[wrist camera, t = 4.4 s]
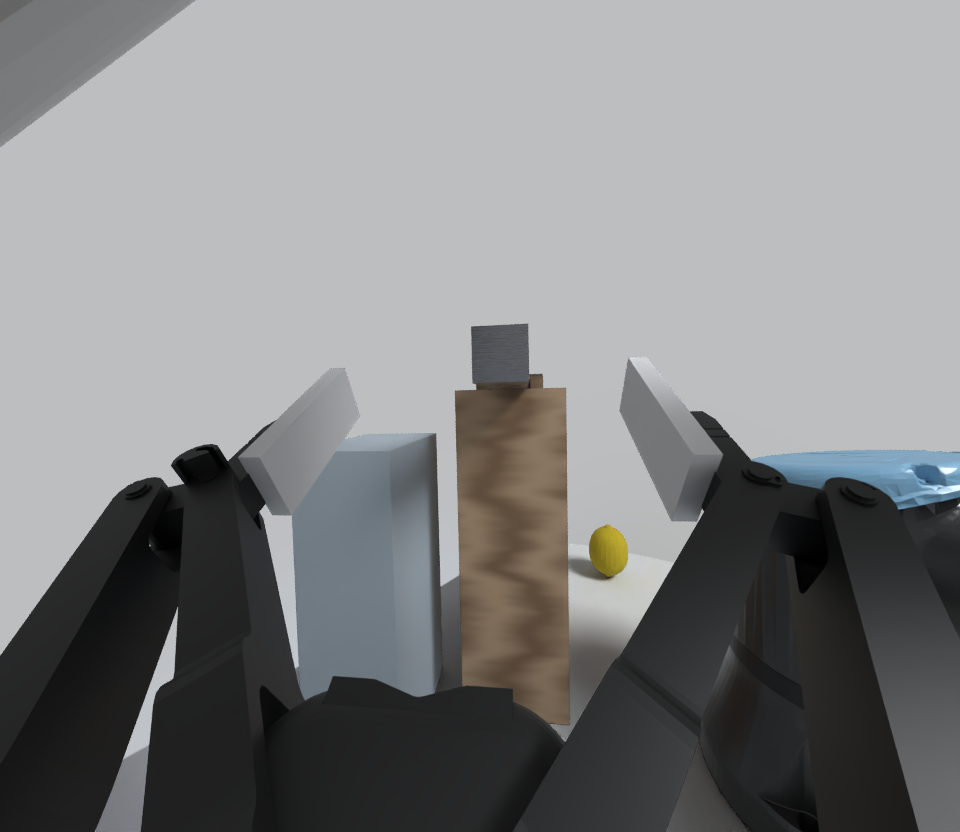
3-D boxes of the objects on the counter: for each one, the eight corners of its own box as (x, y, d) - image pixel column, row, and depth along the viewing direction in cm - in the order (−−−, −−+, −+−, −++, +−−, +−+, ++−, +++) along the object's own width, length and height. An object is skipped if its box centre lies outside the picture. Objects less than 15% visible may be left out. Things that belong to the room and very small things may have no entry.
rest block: (442, 667, 35) (436, 433, 34) (401, 805, 23) (389, 451, 22) (377, 662, 36) (368, 434, 35) (304, 792, 24) (288, 451, 23)
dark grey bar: (541, 392, 44) (541, 370, 44) (572, 380, 17) (572, 321, 16) (487, 393, 45) (487, 372, 45) (431, 384, 17) (430, 328, 17)
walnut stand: (551, 600, 46) (549, 384, 45) (569, 725, 29) (565, 375, 27) (485, 596, 48) (481, 386, 46) (463, 715, 30) (454, 378, 28)
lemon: (636, 581, 51) (636, 527, 50) (607, 590, 49) (607, 534, 48) (608, 565, 56) (608, 516, 56) (581, 572, 54) (581, 522, 53)
